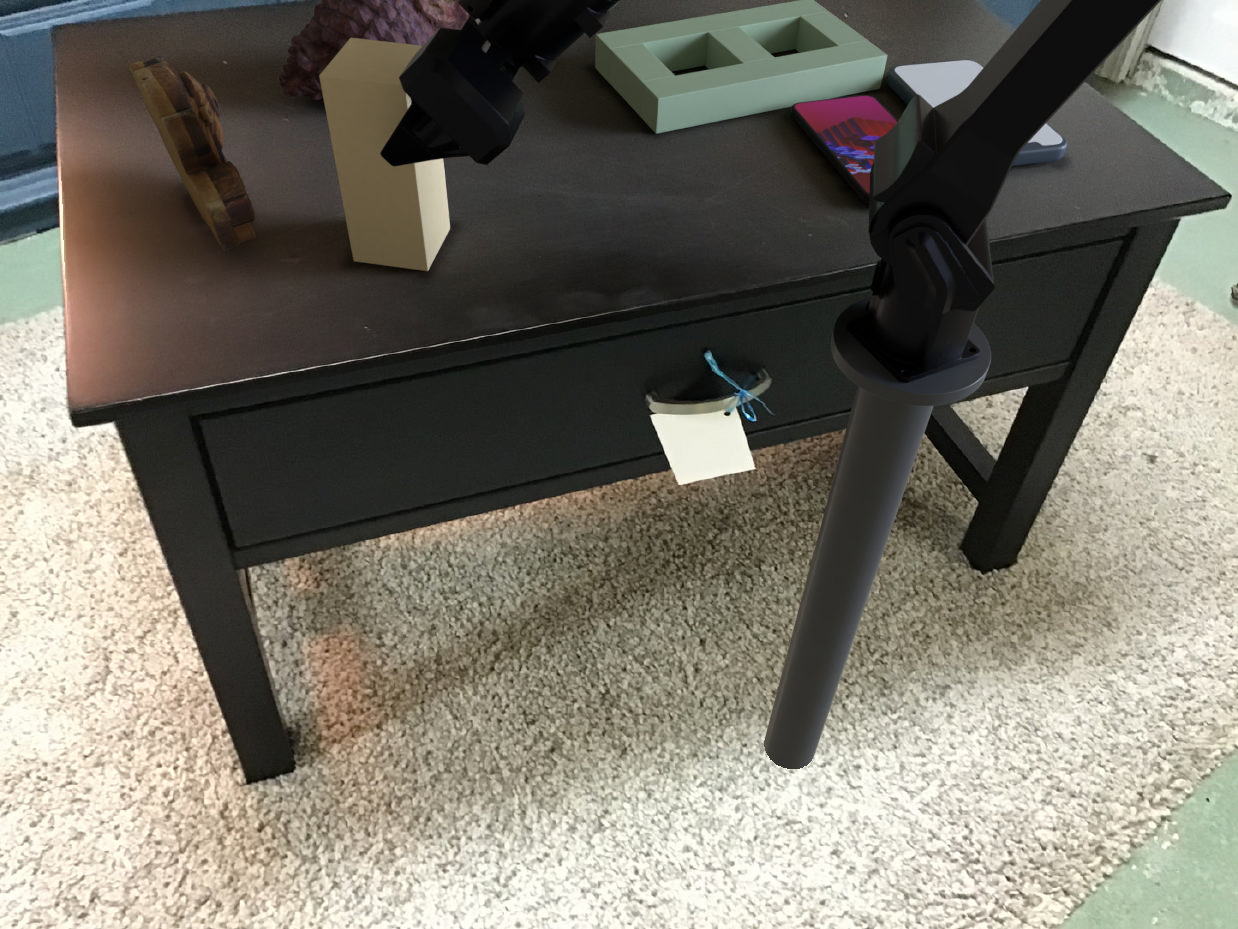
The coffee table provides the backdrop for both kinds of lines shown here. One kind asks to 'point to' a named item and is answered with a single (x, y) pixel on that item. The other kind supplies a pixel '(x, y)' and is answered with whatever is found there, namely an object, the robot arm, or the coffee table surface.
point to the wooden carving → (197, 148)
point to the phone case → (952, 79)
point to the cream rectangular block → (381, 159)
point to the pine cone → (360, 34)
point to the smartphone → (846, 134)
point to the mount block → (737, 64)
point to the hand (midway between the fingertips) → (411, 121)
